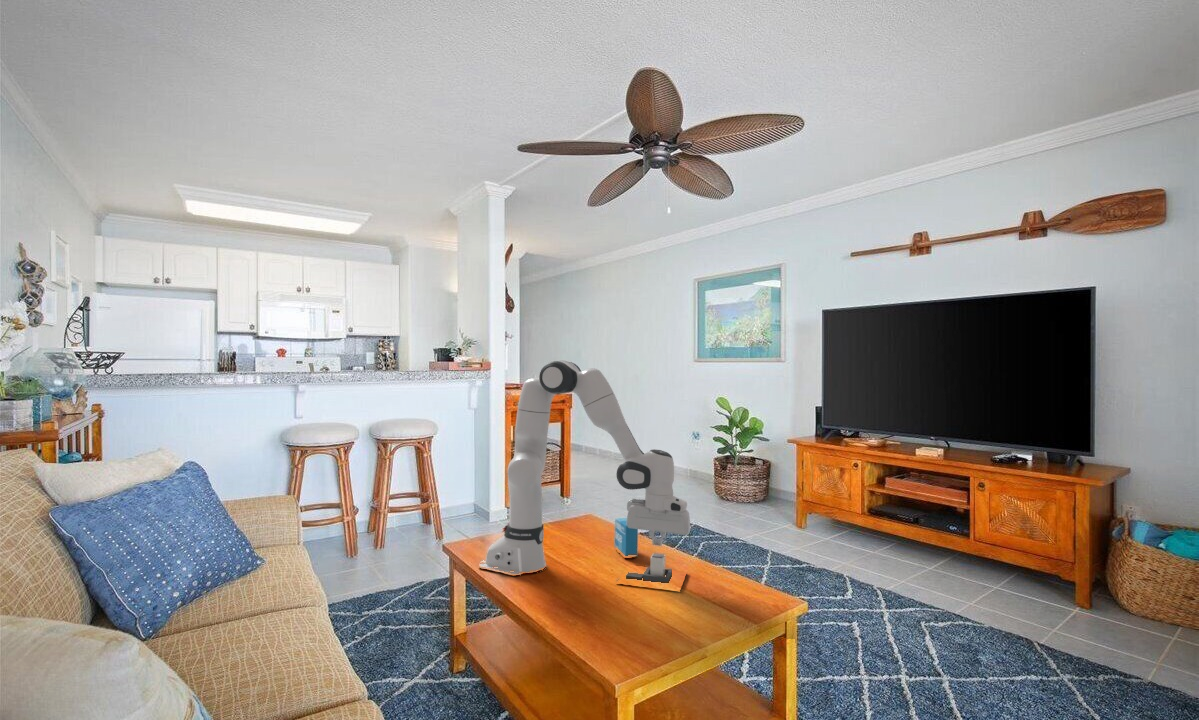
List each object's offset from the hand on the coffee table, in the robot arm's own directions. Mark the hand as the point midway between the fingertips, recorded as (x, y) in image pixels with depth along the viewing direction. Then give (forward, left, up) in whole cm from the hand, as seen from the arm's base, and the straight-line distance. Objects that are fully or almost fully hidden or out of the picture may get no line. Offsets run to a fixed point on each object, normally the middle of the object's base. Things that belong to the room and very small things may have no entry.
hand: (657, 545), depth 184 cm
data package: (-15, +22, -12) cm, 29 cm away
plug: (0, -1, -10) cm, 10 cm away
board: (-1, +1, -12) cm, 12 cm away
